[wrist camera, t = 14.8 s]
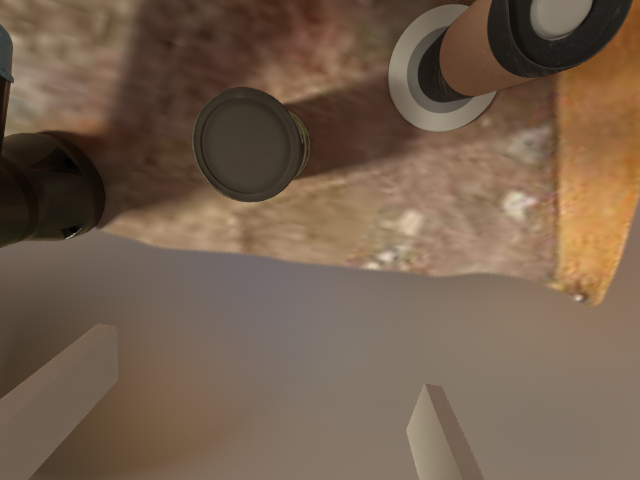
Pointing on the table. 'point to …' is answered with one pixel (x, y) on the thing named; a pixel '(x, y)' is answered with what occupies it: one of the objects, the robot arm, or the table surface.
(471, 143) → the table surface
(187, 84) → the table surface
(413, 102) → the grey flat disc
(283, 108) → the coffee can
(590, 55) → the travel mug
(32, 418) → the robot arm
